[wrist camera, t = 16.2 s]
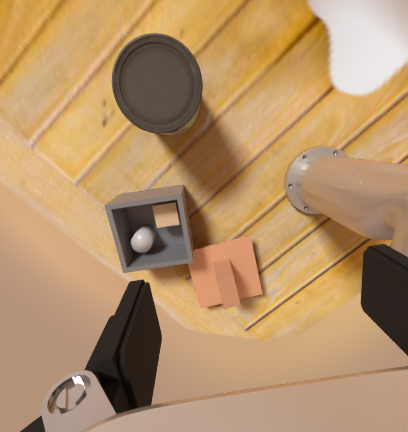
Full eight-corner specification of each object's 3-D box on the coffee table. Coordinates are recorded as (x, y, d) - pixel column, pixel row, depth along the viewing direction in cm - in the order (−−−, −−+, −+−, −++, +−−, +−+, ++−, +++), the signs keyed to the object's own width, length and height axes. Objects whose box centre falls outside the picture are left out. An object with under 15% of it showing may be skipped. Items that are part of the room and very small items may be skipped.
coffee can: (210, 86, 41) (217, 61, 27) (185, 145, 44) (181, 147, 30) (151, 56, 39) (129, 13, 26) (129, 119, 42) (99, 109, 28)
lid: (249, 234, 47) (258, 250, 40) (260, 289, 51) (271, 314, 44) (184, 249, 47) (182, 268, 40) (200, 303, 51) (201, 330, 44)
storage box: (183, 184, 46) (181, 193, 38) (193, 243, 49) (193, 262, 42) (119, 194, 46) (104, 205, 38) (134, 252, 49) (123, 272, 42)
